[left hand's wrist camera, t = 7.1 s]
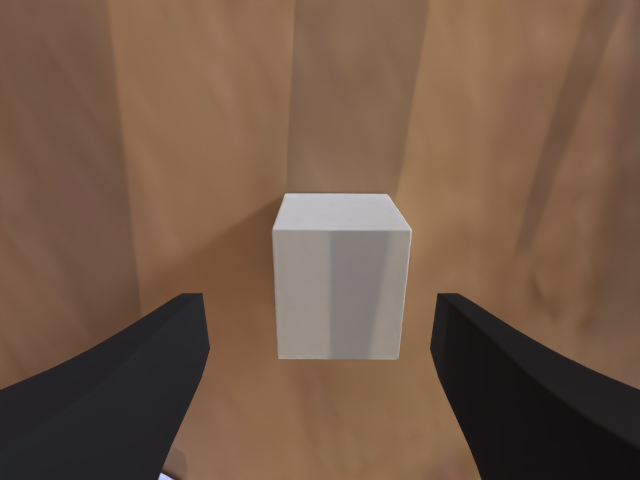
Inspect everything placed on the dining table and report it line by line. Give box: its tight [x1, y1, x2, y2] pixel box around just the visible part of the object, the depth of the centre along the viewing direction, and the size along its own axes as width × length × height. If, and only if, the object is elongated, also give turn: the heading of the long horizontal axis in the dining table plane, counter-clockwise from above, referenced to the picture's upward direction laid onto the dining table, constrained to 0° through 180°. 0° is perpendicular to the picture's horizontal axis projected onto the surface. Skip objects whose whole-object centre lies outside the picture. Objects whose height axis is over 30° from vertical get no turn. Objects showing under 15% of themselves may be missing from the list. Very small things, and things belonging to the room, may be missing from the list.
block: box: [272, 193, 412, 359], centre depth 15 cm, size 4×5×5 cm
